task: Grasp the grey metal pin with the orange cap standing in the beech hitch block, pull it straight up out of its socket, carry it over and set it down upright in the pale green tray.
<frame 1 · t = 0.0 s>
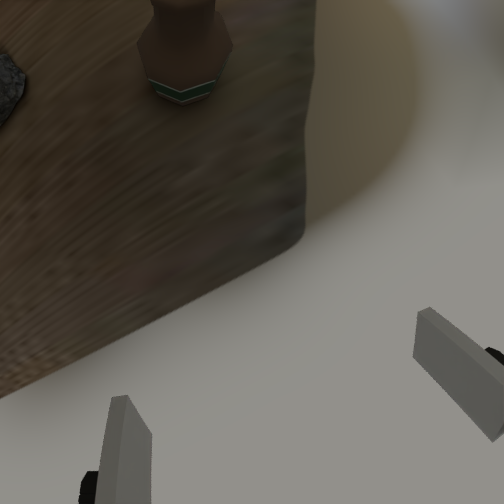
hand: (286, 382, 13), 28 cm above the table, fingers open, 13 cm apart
beer bottle: (185, 76, 32), on the table
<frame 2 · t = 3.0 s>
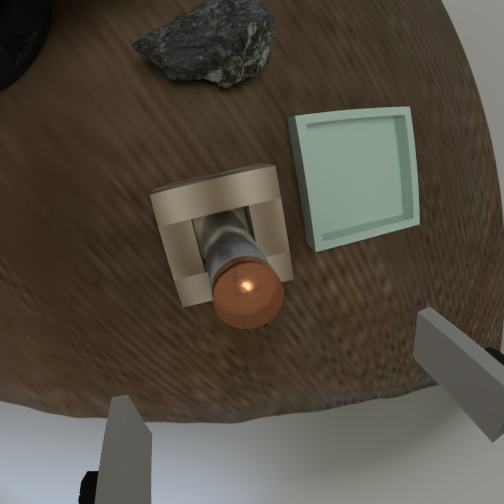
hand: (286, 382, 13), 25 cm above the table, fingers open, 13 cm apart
rock: (204, 57, 30), on the table
hitch block: (220, 226, 36), on the table
pin: (221, 229, 35), point 1 cm above the table, touching hitch block
tray: (354, 171, 37), on the table
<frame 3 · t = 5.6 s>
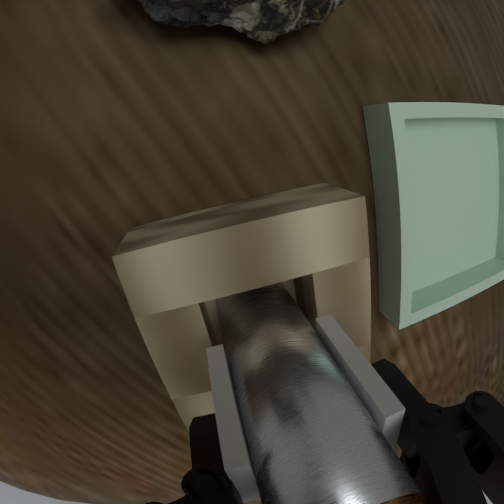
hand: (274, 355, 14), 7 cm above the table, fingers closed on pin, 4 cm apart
hitch block: (248, 293, 21), on the table
pin: (251, 300, 20), point 1 cm above the table, touching gripper, hitch block
tray: (450, 199, 22), on the table
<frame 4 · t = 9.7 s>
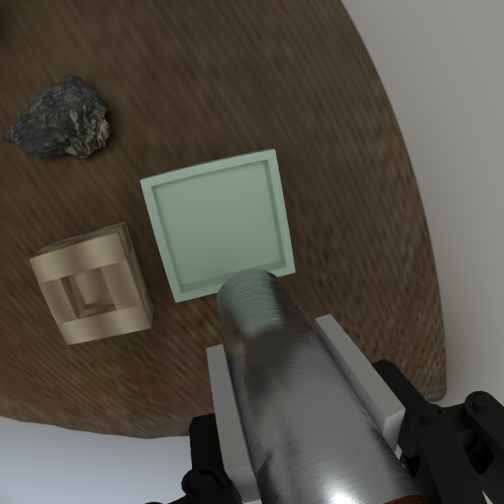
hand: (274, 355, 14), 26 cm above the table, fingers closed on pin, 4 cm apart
rock: (71, 128, 32), on the table
hitch block: (97, 277, 38), on the table
pin: (251, 301, 20), point 20 cm above the table, touching gripper
tray: (219, 222, 39), on the table
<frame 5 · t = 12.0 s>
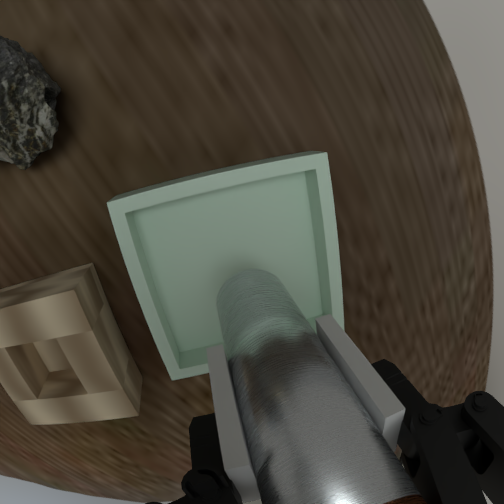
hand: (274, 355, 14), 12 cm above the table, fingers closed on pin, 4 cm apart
rock: (13, 122, 18), on the table
hitch block: (61, 338, 25), on the table
pin: (251, 302, 20), point 6 cm above the table, touching gripper
tray: (235, 263, 25), on the table
when the fingers open (7 cm above the table, at t = 13.8 s): pin stays where it is, resting on tray.
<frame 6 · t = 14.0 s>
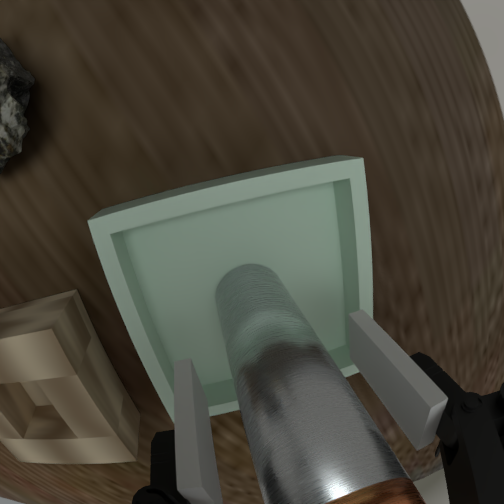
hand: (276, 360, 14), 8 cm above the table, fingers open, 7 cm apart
hitch block: (47, 370, 20), on the table
pin: (249, 295, 20), point 1 cm above the table, touching tray
tray: (247, 291, 21), on the table
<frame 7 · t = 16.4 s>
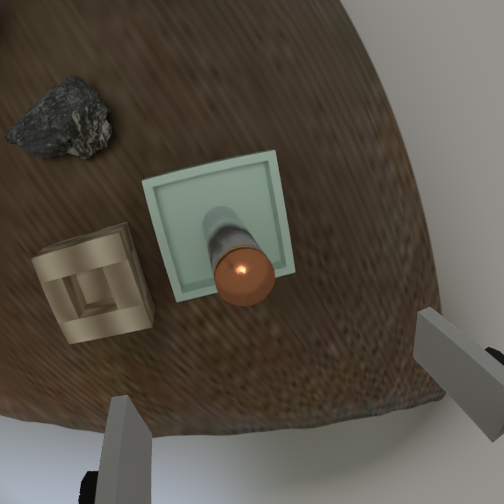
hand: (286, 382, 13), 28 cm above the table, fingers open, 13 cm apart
rock: (73, 129, 32), on the table
hitch block: (99, 277, 38), on the table
pin: (220, 224, 39), point 1 cm above the table, touching tray
tray: (220, 222, 39), on the table
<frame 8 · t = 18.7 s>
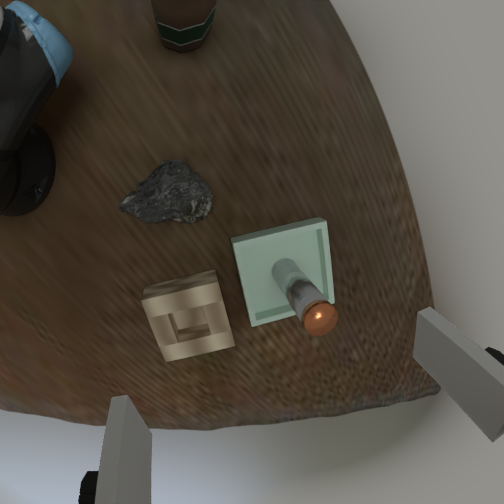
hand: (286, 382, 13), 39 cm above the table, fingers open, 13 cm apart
rock: (170, 196, 47), on the table
hitch block: (189, 309, 53), on the table
pin: (284, 270, 54), point 1 cm above the table, touching tray
beer bottle: (184, 32, 39), on the table
tray: (283, 269, 54), on the table
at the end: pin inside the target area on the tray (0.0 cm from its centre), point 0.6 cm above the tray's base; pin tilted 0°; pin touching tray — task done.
